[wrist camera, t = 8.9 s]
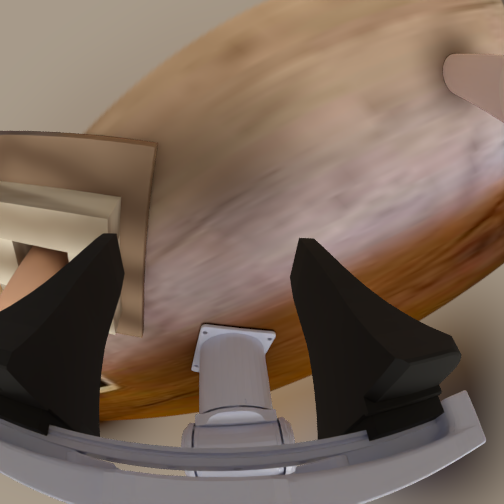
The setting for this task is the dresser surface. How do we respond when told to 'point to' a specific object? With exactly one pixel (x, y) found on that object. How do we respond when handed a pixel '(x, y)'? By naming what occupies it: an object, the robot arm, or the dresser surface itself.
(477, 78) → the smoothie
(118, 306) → the socket
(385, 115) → the dresser surface
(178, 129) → the dresser surface
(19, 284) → the peg
